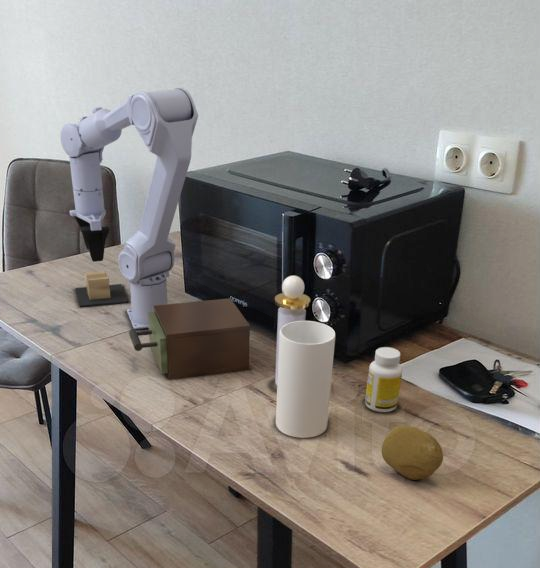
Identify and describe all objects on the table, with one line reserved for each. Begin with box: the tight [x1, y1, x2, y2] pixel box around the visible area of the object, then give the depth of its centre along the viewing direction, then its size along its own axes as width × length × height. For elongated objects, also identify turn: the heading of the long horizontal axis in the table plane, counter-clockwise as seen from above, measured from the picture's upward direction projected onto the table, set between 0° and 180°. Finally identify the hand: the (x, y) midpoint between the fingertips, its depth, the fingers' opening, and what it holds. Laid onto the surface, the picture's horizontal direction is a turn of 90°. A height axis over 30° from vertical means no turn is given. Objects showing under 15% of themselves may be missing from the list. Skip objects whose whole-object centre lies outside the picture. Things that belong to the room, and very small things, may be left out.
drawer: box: [128, 312, 168, 375], centre depth 126 cm, size 18×11×7 cm, turn 108°
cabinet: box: [153, 297, 251, 380], centre depth 127 cm, size 15×13×9 cm
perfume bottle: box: [273, 275, 311, 386], centre depth 117 cm, size 6×6×20 cm
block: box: [84, 271, 111, 300], centre depth 151 cm, size 4×4×4 cm
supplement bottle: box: [364, 346, 403, 413], centre depth 115 cm, size 5×5×10 cm
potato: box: [381, 425, 444, 481], centre depth 99 cm, size 7×8×8 cm
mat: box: [74, 283, 129, 308], centre depth 152 cm, size 10×10×1 cm
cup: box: [275, 320, 336, 439], centre depth 108 cm, size 8×8×16 cm
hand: (94, 254), depth 147 cm, fingers open, 7 cm apart
